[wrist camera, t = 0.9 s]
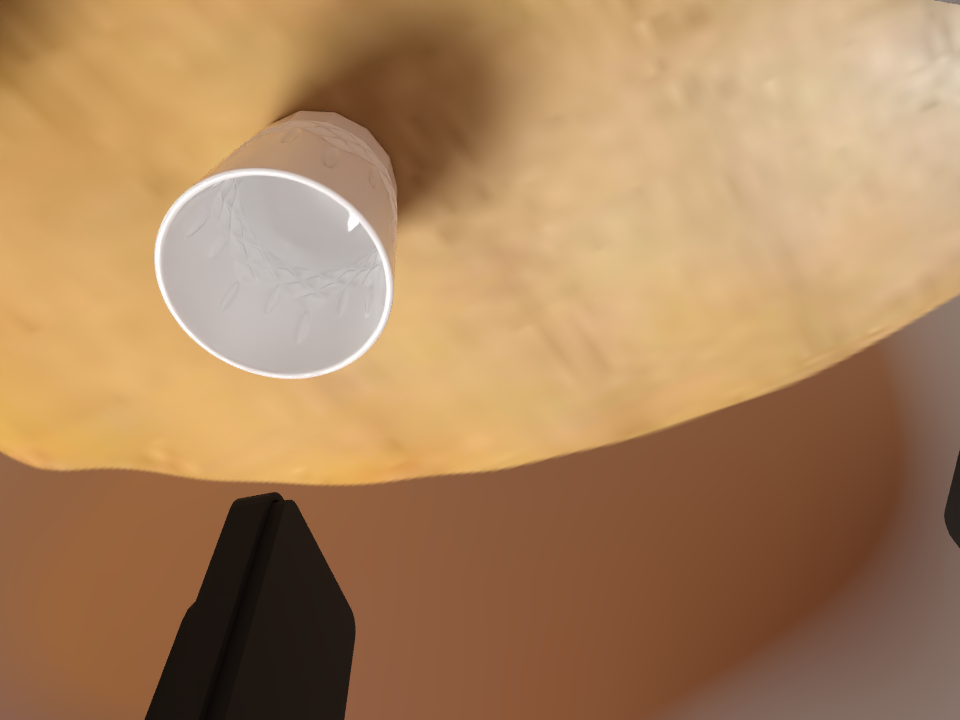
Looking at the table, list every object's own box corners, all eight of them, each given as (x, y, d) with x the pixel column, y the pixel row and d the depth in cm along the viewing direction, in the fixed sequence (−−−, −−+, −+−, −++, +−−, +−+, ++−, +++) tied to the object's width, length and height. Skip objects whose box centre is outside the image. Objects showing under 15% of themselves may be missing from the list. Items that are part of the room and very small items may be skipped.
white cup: (358, 63, 28) (318, 126, 20) (437, 226, 32) (431, 334, 24) (200, 139, 30) (101, 227, 21) (295, 285, 34) (243, 407, 26)
